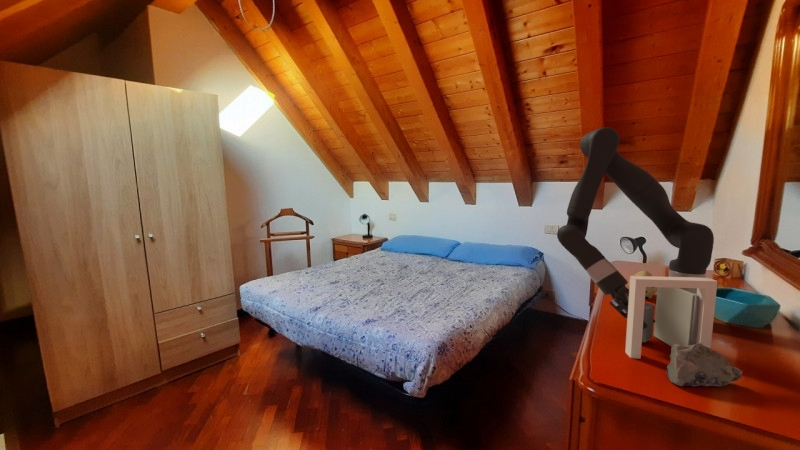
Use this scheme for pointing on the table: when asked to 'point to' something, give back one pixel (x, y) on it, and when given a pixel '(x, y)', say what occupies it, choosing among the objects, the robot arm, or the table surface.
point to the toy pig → (649, 290)
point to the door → (676, 316)
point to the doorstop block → (648, 321)
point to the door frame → (639, 284)
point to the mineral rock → (700, 367)
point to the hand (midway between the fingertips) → (648, 325)
